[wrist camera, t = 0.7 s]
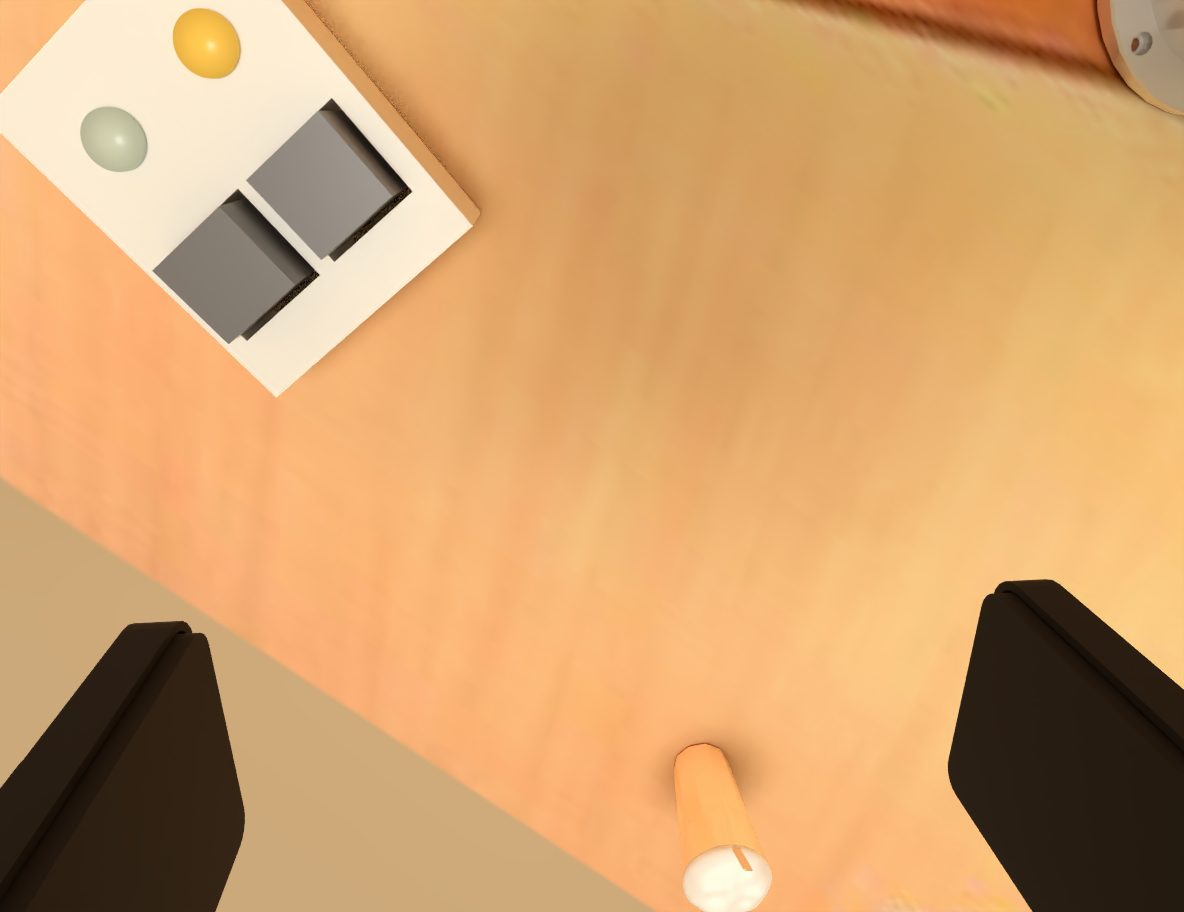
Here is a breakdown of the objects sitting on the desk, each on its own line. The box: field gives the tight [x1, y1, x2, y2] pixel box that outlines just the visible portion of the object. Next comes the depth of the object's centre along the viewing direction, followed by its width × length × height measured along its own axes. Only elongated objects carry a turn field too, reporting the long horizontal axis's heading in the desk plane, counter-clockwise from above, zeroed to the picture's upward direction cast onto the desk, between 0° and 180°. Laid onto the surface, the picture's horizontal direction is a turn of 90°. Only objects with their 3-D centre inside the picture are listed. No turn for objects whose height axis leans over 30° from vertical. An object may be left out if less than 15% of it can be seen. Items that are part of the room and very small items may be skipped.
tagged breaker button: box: [246, 110, 408, 260], centre depth 31 cm, size 4×4×4 cm
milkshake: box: [674, 744, 772, 912], centre depth 44 cm, size 4×5×10 cm
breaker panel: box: [0, 0, 481, 397], centre depth 32 cm, size 11×14×5 cm
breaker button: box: [152, 198, 316, 344], centre depth 32 cm, size 4×4×4 cm
